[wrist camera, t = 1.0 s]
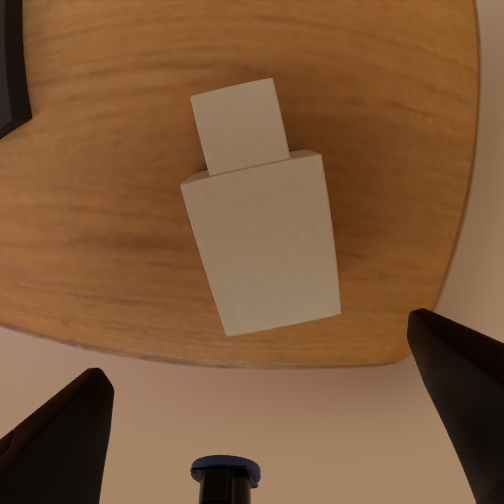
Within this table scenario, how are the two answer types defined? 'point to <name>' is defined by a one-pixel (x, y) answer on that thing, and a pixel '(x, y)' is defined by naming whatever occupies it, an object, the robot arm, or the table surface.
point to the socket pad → (12, 69)
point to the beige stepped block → (260, 214)
